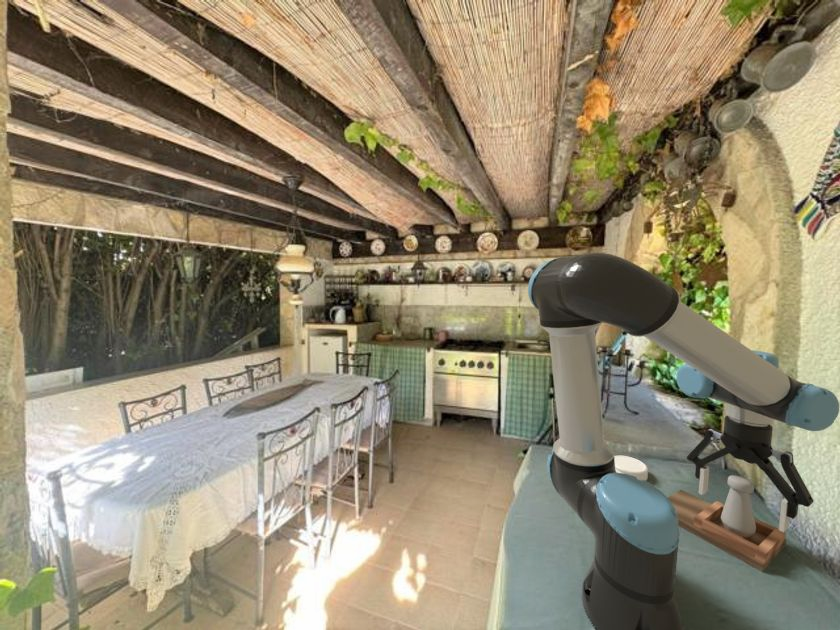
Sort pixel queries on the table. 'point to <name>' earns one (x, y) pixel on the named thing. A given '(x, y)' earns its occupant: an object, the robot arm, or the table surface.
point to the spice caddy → (709, 527)
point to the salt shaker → (739, 507)
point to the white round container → (631, 467)
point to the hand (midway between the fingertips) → (739, 509)
